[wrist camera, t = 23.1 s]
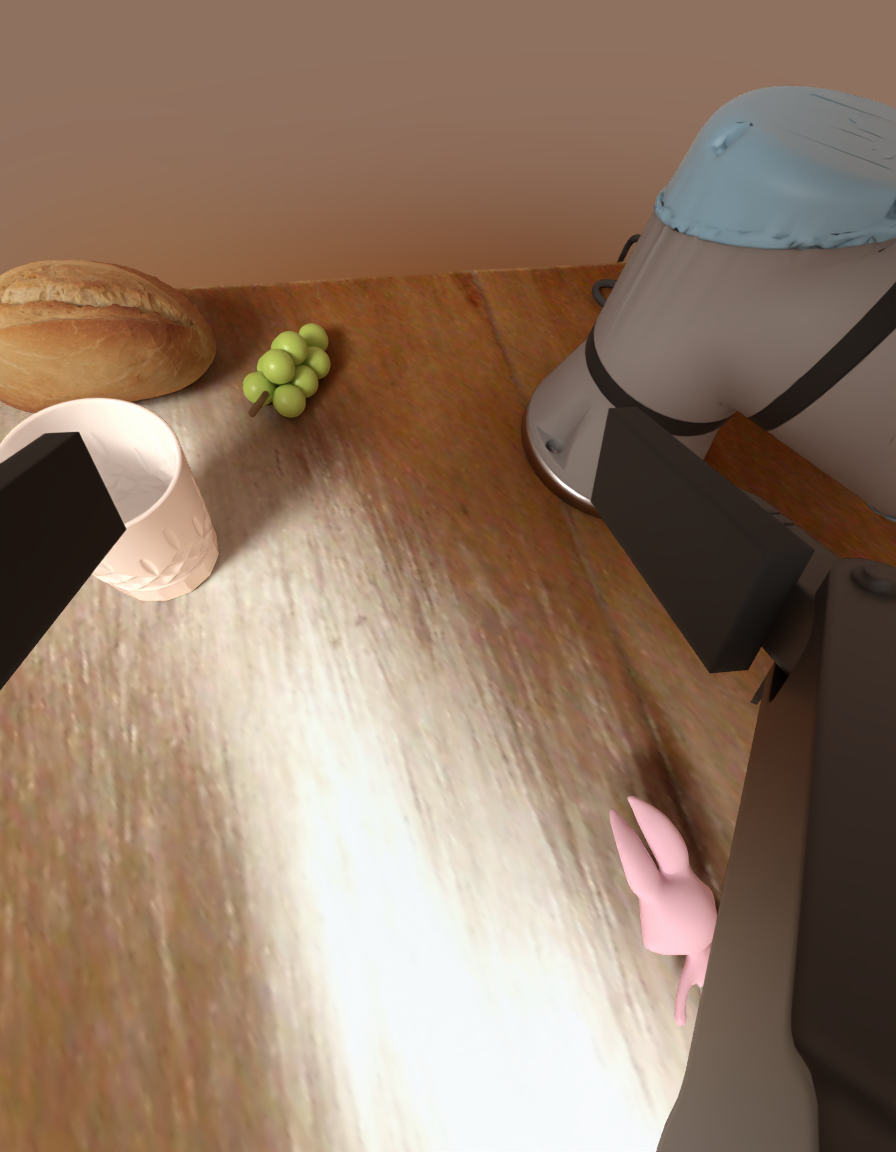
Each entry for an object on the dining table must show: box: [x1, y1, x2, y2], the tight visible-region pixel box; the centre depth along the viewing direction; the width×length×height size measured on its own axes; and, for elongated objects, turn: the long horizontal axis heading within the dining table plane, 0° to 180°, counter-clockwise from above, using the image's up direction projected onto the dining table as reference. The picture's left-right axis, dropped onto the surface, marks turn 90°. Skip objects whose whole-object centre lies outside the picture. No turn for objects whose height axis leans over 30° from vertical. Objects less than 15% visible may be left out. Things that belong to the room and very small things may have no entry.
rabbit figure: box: [609, 796, 717, 1026], centre depth 26 cm, size 6×6×15 cm
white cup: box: [0, 398, 219, 601], centre depth 27 cm, size 8×8×10 cm
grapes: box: [243, 323, 330, 417], centre depth 37 cm, size 11×5×4 cm, turn 160°
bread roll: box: [0, 260, 216, 413], centre depth 32 cm, size 10×15×8 cm, turn 115°
